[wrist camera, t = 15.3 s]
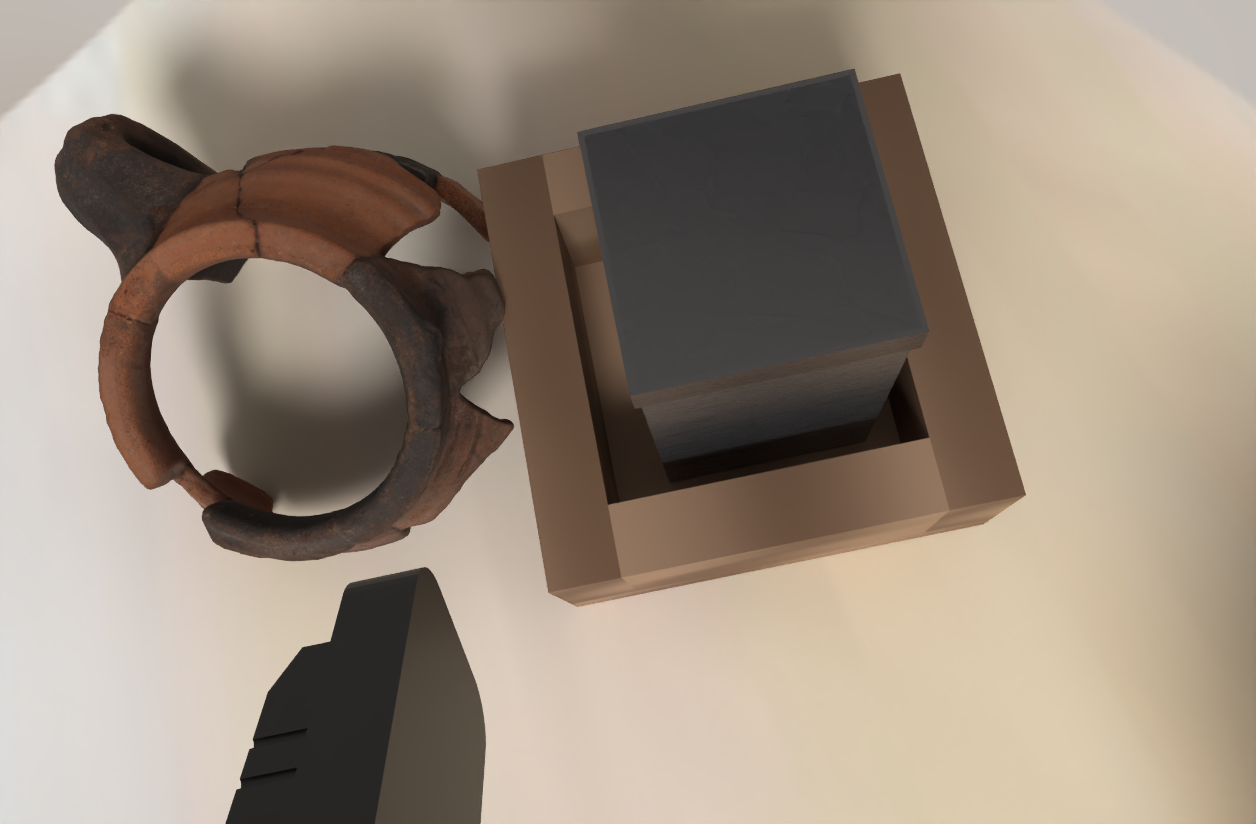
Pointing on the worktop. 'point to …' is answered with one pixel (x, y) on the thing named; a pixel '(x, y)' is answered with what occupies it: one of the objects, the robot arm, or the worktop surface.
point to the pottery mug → (320, 242)
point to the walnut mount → (750, 496)
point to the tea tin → (754, 273)
